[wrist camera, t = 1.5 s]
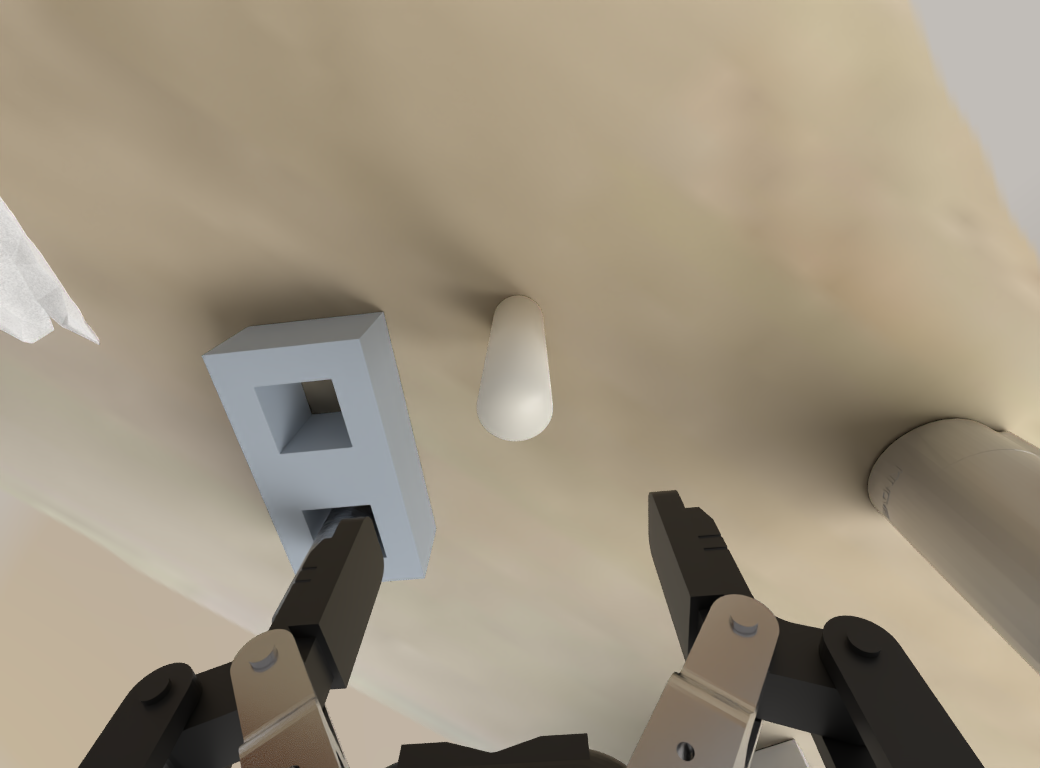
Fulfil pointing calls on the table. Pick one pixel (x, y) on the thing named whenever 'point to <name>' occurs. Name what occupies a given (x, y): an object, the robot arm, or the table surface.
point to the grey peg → (329, 529)
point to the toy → (780, 756)
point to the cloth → (32, 288)
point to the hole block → (328, 433)
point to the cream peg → (516, 373)
